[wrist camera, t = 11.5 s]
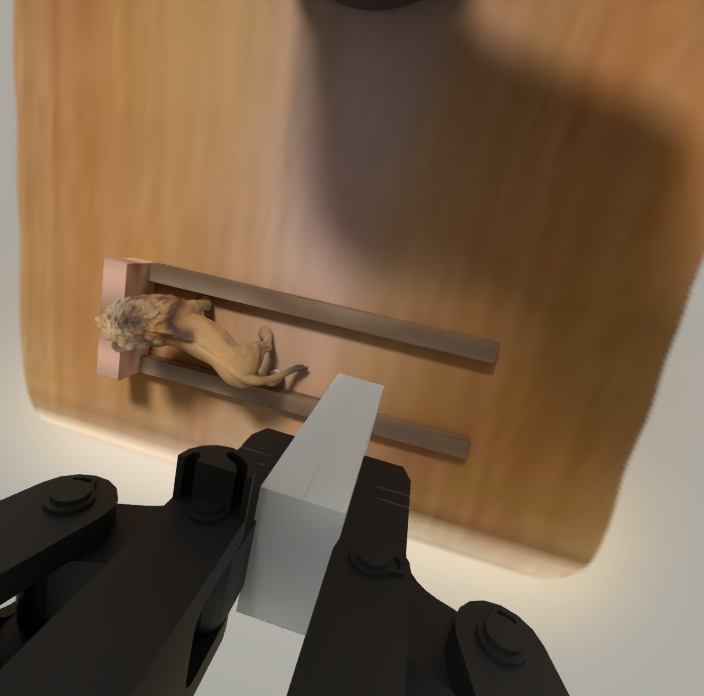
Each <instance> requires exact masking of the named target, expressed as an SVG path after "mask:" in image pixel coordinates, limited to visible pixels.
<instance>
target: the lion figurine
mask: <svg viewBox="0 0 704 696" xmlns="http://www.w3.org/2000/svg"><path fill="white" fill-rule="evenodd" d="M211 306H212V300H211V298H210V297H209V296H208V295H203V296H201V297H200V298H199V300H189V301H187V302H184V301H183V300H181V299H179V298H177V297H175V296H173V295H172V294H169V295H163V294H151V295H141V296H138V297H132V296H130V297H126V298H124V299H118V300H116V301H115V302H114V303H113V304H111V305H109V306H108V307H107V308H106V310H105V311H104V312H103V314H102V315H101V316H98V317H96V318H95V322H97V323H98V328H99V329H100V330H101V333H102V335H103V338H104V339H106V340H108V341H112V344H111V347H112V348H113V350H114V351H115V352H121V351H127V350H134V349H135V348H144V349H145V348H149V347H152V346H155V347H162V346H166V345H169V346H174V347H180V348H181V349H183V350H184V351H186V352H187V353H189V354H190V355H192V356H194V357H196V358H197V359H199V360H202V361H204V362H206V363H208V364H209V365H211V366H212V367H213V368H214V369H215V371H216V372H217V373H218V375H219V376H220V377H221V378H222V379H223V380H224V381H225V382H226V383H227V384H230V385H232V386H235V387H238V388H247V387H250V386H253V385H268V386H275V385H277V384H279V383H281V381H282V380H283V378H284V377H285V376H287V375H289V374H292V373H294V372H301V371H307V370H308V367H307V366H304V365H295V366H293V367H290V368H288V369H286V370H284V371H282V372H281V371H280V370H278V369H274V370H272V371H270V372H269V374H270V376H265V375H261V374H259V373H258V370H259V368H260V367H261V364H262V361H263V358H264V354H265V353H266V352H269V351H271V350H272V338H273V335H272V332H271V330H270V328H268V327H262V328H261V329H260V330H259V332H258V336H259V337H260V338H261V339H262V340H263V341H249V342H247V343H245V344H241V345H239V344H237V343H236V342H235V341H234V339H233V338H232V336H231V335H230V334H229V333H228V332H227V331H226V330H225V329H224V328H223V327H222V326H220V325H219V324H217V323H216V322H214V321H212V320H210V319H208V318H206V317H204V316H201V314H202V311H208V310H210V308H211Z"/></svg>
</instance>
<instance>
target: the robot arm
mask: <svg viewBox="0 0 704 696" xmlns="http://www.w3.org/2000/svg"><path fill="white" fill-rule="evenodd" d="M337 1H339V2H341V3H343V4H346V5H349V6H352V7H356V8H361V9H369V10H381V9H390V8H395V7H400V6H403V5H406V4H409V3H412V2H414V1H417V0H337ZM383 388H384V386H383V385H380V384H376V383H372V382H369V381H365V380H362V379H358V378H354V377H351V376H347V375H344V374H340V373H338V375H337V376H336V378H335V379H334V380H333V382H332V383H331V385H330V386H329V388H328V389H327V391H326V392H325V394H324V395H323V396H322V398H321V399H320V401H319V402H318V404H317V405H316V407H315V408H314V410H313V411H312V413H311V414H310V415H309V417H308V418H307V420H306V421H305V423H304V424H303V426H302V427H301V429H300V430H299V431H298V433H297V434H296V436H292V435H289V434H286V433H282V432H279V431H276V430H272V429H269V428H267V429H264V430H262V431H259V432H257V433H255V434H252V435H251V436H250V437H249V438H248V439H247V440H246V441H245V443H244V444H243V445H242V447H240V448H239V449H238V450H236V449H234V448H230V447H225V446H219V445H207V446H199V447H195V448H191V449H188V450H186V451H185V452H183V453H181V454H179V455H178V460H177V468H176V476H175V483H174V491H173V497H172V498H171V499H170V500H169V501H168V502H167V503H166V504H165V505H164V506H142V505H129V504H117V502H118V495H117V488H116V487H115V486H114V485H113V484H112V483H111V482H110V481H109V480H106V479H103V478H101V477H98V476H93V475H82V474H78V475H69V476H61V477H58V478H54V479H51V480H48V481H45V482H42V483H40V484H37V485H35V486H33V487H30V488H28V489H26V490H24V491H21V492H19V493H17V494H14V495H12V496H10V497H7V498H5V499H3V500H0V605H1V604H3V603H4V602H6V601H8V600H9V599H11V598H12V597H14V596H16V601H15V602H13V603H12V604H10V605H8V606H6V607H4V608H1V609H0V696H194V694H195V692H196V690H197V688H198V686H199V684H200V682H201V680H202V678H203V676H204V674H205V672H206V670H207V668H208V666H209V664H210V662H211V661H212V658H213V657H214V655H215V653H216V651H217V649H218V647H219V645H220V643H221V641H222V639H223V636H224V632H225V629H226V625H227V620H228V614H229V612H230V610H231V608H232V606H233V604H234V602H235V601H236V599H237V597H238V595H239V593H240V595H239V600H238V606H237V610H236V611H237V612H239V613H243V614H245V615H248V616H251V617H254V618H257V619H259V620H262V621H266V622H268V623H271V624H274V625H277V626H279V627H282V628H285V629H288V630H291V631H294V632H297V633H299V634H303V635H305V639H304V642H303V645H302V648H301V651H300V655H299V658H298V661H297V664H296V667H295V671H294V674H293V677H292V680H291V683H290V687H289V690H288V693H287V696H569V694H568V692H567V690H566V688H565V686H564V684H563V682H562V680H561V678H560V676H559V675H558V672H557V671H556V669H555V667H554V665H553V663H552V661H551V659H550V657H549V655H548V653H547V651H546V649H545V647H544V645H543V644H542V643H541V641H540V640H539V638H538V637H537V635H536V634H535V632H534V631H533V630H532V629H531V628H530V627H529V626H528V625H527V624H526V623H525V622H524V621H523V620H522V619H521V618H520V617H518V616H517V615H516V614H514V613H512V612H511V611H509V610H507V609H506V608H504V607H502V606H501V605H497V604H494V603H491V602H487V601H470V602H468V603H466V604H465V605H463V606H461V607H460V608H459V610H458V612H457V611H455V610H454V609H452V608H451V607H449V606H448V605H446V604H444V603H443V602H441V601H439V600H438V599H436V598H435V597H434V596H432V595H431V594H430V593H428V592H427V591H426V590H425V589H424V588H423V587H422V586H421V585H420V584H419V583H418V582H417V581H416V579H415V578H414V576H413V575H412V573H411V570H410V564H409V561H408V560H407V558H406V545H407V530H408V515H409V509H408V508H409V500H410V497H409V496H410V485H411V480H410V479H409V477H408V475H407V473H406V471H405V469H404V468H403V467H401V466H398V465H395V464H391V463H388V462H385V461H381V460H378V459H375V458H371V457H368V456H365V455H366V452H367V448H368V444H369V441H370V437H371V433H372V429H373V426H374V422H375V418H376V414H377V411H378V407H379V403H380V400H381V396H382V392H383Z"/></svg>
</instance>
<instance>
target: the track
mask: <svg viewBox="0 0 704 696" xmlns="http://www.w3.org/2000/svg"><path fill="white" fill-rule="evenodd" d="M156 282H157V283H161V284H165V285H169V286H173V287H177V288H181V289H186V290H190V291H194V292H198V293H202V294H206V295H211V296H215V297H219V298H223V299H227V300H231V301H235V302H240V303H244V304H248V305H252V306H256V307H260V308H264V309H269V310H273V311H277V312H281V313H285V314H289V315H294V316H298V317H302V318H306V319H310V320H314V321H318V322H323V323H327V324H331V325H335V326H339V327H343V328H347V329H352V330H356V331H360V332H364V333H368V334H372V335H377V336H381V337H385V338H389V339H393V340H397V341H401V342H406V343H410V344H414V345H418V346H422V347H426V348H430V349H435V350H439V351H443V352H447V353H451V354H455V355H460V356H464V357H468V358H472V359H476V360H480V361H484V362H489V363H493V364H495V361H496V358H497V354H498V351H499V348H500V345H499V344H498V343H496V342H492V341H487V340H483V339H479V338H475V337H470V336H466V335H462V334H458V333H453V332H449V331H445V330H441V329H436V328H432V327H428V326H424V325H419V324H415V323H411V322H407V321H402V320H398V319H394V318H390V317H385V316H381V315H377V314H373V313H368V312H364V311H360V310H356V309H351V308H347V307H343V306H339V305H334V304H330V303H326V302H322V301H317V300H313V299H309V298H305V297H300V296H296V295H292V294H288V293H283V292H279V291H275V290H271V289H267V288H262V287H258V286H254V285H250V284H245V283H241V282H237V281H233V280H228V279H224V278H220V277H216V276H211V275H207V274H203V273H199V272H194V271H190V270H186V269H182V268H177V267H173V266H169V265H165V264H160V263H156V262H152V261H148V260H143V259H139V258H104V270H103V285H102V300H101V315H102V314H103V312H104V311H105V310H106V308H107V307H108V306H109V305H111V304H113V303H114V302H115V301H116V300H118V299H124V298H126V297H130V296H132V297H138V296H141V295H151V294H155V283H156ZM101 315H100V316H101ZM111 344H112V341H108V340H106V339H104V338H103V335H102V333H101V330H99V346H98V361H97V375H98V376H102V377H106V378H109V379H113V380H117V381H119V380H121V379H123V378H126V377H128V376H131V375H133V374H136V373H138V372H141V373H144V374H148V375H152V376H156V377H159V378H163V379H167V380H171V381H174V382H178V383H182V384H186V385H189V386H193V387H197V388H200V389H204V390H208V391H212V392H215V393H219V394H223V395H227V396H230V397H234V398H238V399H242V400H245V401H249V402H253V403H257V404H260V405H264V406H268V407H272V408H275V409H279V410H283V411H287V412H290V413H294V414H298V415H302V416H305V417H309V415H310V414H311V413H312V411H313V410H314V408H315V407H316V405H317V404H318V402H319V401H320V398H317V397H313V396H309V395H305V394H301V393H297V392H294V391H290V390H286V389H282V388H278V387H274V386H268V385H253V386H250V387H247V388H238V387H235V386H232V385H230V384H227V383H226V382H225V381H224V380H223V379H222V378H221V377H220V376H219V375H218V373H217V372H216V371H213V370H209V369H206V368H202V367H198V366H194V365H190V364H186V363H183V362H179V361H175V360H171V359H167V358H163V357H160V356H156V355H152V354H149V348H145V349H144V348H135V349H134V350H127V351H121V352H115V351H114V350H113V348H112V347H111ZM371 434H373V435H377V436H380V437H384V438H388V439H392V440H395V441H399V442H403V443H407V444H410V445H414V446H418V447H422V448H425V449H429V450H433V451H436V452H440V453H444V454H448V455H451V456H455V457H459V458H463V459H466V456H467V452H468V449H469V446H470V440H469V437H466V436H462V435H458V434H454V433H451V432H447V431H443V430H439V429H435V428H431V427H428V426H424V425H420V424H416V423H412V422H408V421H405V420H401V419H397V418H393V417H389V416H386V415H382V414H378V413H377V414H376V418H375V422H374V426H373V429H372V433H371Z"/></svg>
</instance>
